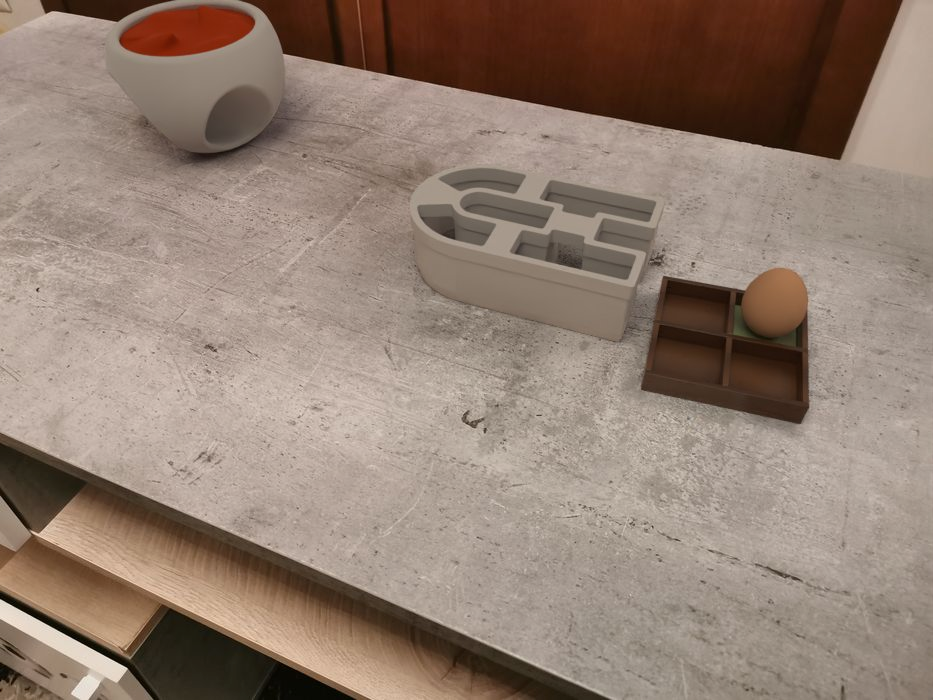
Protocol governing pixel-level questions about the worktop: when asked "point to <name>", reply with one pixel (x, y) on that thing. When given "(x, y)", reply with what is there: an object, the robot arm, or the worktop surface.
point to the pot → (199, 70)
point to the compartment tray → (724, 354)
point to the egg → (775, 303)
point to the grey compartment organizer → (535, 245)
